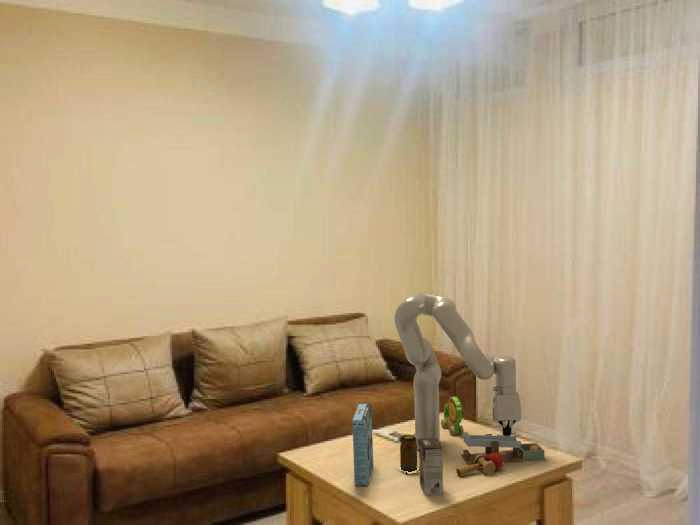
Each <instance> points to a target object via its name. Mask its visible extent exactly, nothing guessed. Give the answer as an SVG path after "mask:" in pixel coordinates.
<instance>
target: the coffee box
mask: <svg viewBox="0 0 700 525" xmlns="http://www.w3.org/2000/svg"><path fill="white" fill-rule="evenodd" d="M443 449H444V447H442V445H441V444H440V442H439V441H438V439H437V438H421V439H419V451H418V452H419V454H418V455H419V458H418V459H419V460H418V461H419V468H420V473H419V486H420V487H421V489H422V492H423V494H424V495H425V496H432V495H433V496H435V495H434V494H437V495H443V494H444V464H443V462H444V459H443V458H444V453H443V452H444V450H443Z"/></svg>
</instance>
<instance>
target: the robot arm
mask: <svg viewBox="0 0 700 525" xmlns="http://www.w3.org/2000/svg"><path fill="white" fill-rule="evenodd" d="M456 306H457V305H456V304H455V302H454V301H453V300H452V299H450V298H448V297H444V296H439V295H438V296H437V295H433V294H428V293H425V292H424V293H423V292H414V293H411V294H409V295H408V296H406V297H405V298H404V300H402V301H401V303H400V304H399V305H398V306H397V308H396V310H395V314H394V325H395V328H396V330H397V334H398V337H399V340H400V342H401V345H402V349H403V350H404V353H405V357H406V359H407V361H408V362H409V363H410V364H411V365H413V366H414V368H415V370H416V372H415V374H414V376H413V381H412V382H413V384H412V385H413V393H414V394H413V395H414V396H413V398H414V433H413V434H412V435H414V436H415V437H416V444H417V452H419V439H421V438H437V439H438V441H439V442H440V444H441V445H442V447H443V448H444V446H445V444H444V441H441V439H440V438H441V437H440V436H441V435H440V432H441V430H440V429H441V428H440V426H441V425H440V424H441V420H440V395H439V394H440V392H439V391H440V389H439V388H440V387H439V384H440V381H441V379H442V369H441V366H440V364H439V361H438V358H437V355H436V353H435V350H434V348H433V344H432V342H430V340H428V339H427V338H426V337H423V335H422V331H421V328H420V326H419V324H418V320H417V319H418V318H419V317H420V316H421V315H424V316H429V317H433V318H434V320H435V321H436V323H437V324H438V325H439V326H440V327H441V329H442V330H443V332H444V333H445V335H447V337H448V338H449V339H450V341H451V342H452V343H453V345H454V347H455V350H457V352H458V353H459V355H460V356H461V358H462V359H463V361H464V363H465V364H466V365H467V367H468V368H469V370H470V371H471V372H472V373H473V375H474V376H475V377H476V378H477V379H479V380H483V381H486V380H489V379H491V378H492V377H493V376H494V375H495V385H494V387H491V390H492V391H493V392H494V394H493V399H492V400H493V401H492V407H491V408H492V422H493V423H494V424H499V425H500V426H502V431H501V432H502V434H503V435H504V436H512V428H513V427H514V424H516V423H517V422H521V421H522V407H521V406H522V405H521V399H520V398H521V397H520V394H519V392H517V370H516V369H517V368H516V366H517V365H516V359H515V358H514V357H512V356H507V355H503V356H496V355H489V354H484V353H483V352H482V350H481V348H480V347H479V345H478V343H477V341H476V338H475V336H474V333H473V331H472V329H471V327H470V326H469V325H468V324H467V322H466V321H465V320H464V319H463V317H462V316H461V315H460V313H459V312H458V311H457V307H456Z"/></svg>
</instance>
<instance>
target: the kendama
mask: <svg viewBox="0 0 700 525" xmlns="http://www.w3.org/2000/svg"><path fill="white" fill-rule="evenodd" d="M474 463H475V464H470V465H466V466H462V467H458V468H456V471H455V472H456V475H457V477H459V478H461V477H463V476H465V475H467V474H470V473H472V472H474V471H477V470H479V469H480V468H482V472H483V473H484V474H485V475H492V474H493V473H494V472H495V471H498V470H500V469H501V468H502V467H503V465H504V463H503V459H502V457H501V456H500V455H499V454H498V453H490V454H489V455H488V456H487V457H485V456H484V455H481V454H480V455H477V456H476V457H475V460H474Z"/></svg>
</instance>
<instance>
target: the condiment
mask: <svg viewBox="0 0 700 525" xmlns="http://www.w3.org/2000/svg"><path fill="white" fill-rule="evenodd" d="M400 439H401V440H400V445H399V446H400V448H399V450H400V451H399V452H400V453H399V456H400V460H399V461H400V462H399V463H400V464H399V466H400V467H401V470H403V471H408V472H412V471H415V470H417V467H418V451H417V444H416V437H415V436H414V435H413V434H403V435H402V436H401V437H400ZM418 468H419V470H418V471H420V467H418ZM403 471H401V472H402V473H403V474H405V475H406V476H409V475H408V473H407V472H406V473H404V472H403ZM418 471H417V473H416V474H419V473H418Z"/></svg>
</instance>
